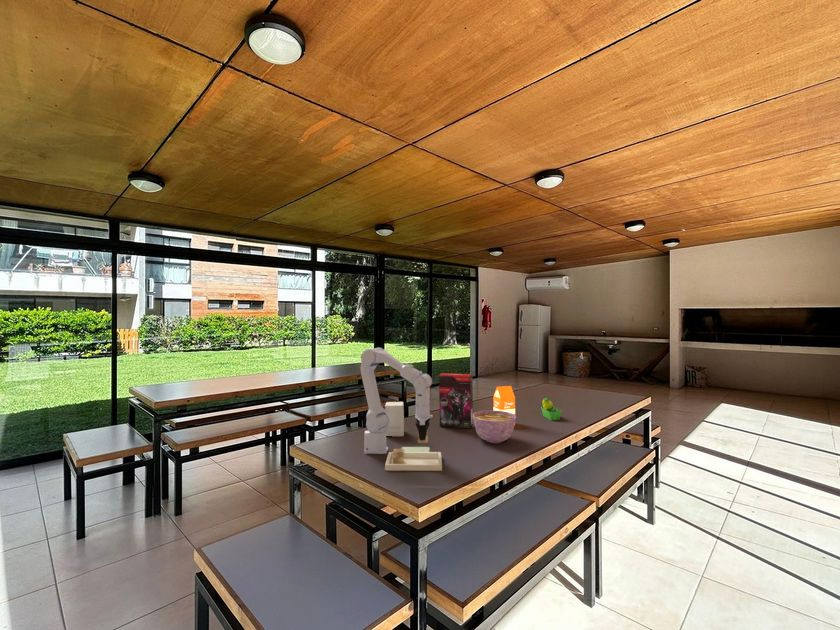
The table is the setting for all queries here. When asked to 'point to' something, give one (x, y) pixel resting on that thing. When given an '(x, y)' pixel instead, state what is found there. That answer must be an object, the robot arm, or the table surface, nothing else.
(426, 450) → the pad
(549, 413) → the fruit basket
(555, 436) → the table surface
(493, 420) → the bowl of food
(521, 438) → the table surface
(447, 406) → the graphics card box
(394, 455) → the plain block
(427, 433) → the labelled block
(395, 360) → the robot arm
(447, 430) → the table surface
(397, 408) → the supplement box
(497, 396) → the orange juice
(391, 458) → the tray
